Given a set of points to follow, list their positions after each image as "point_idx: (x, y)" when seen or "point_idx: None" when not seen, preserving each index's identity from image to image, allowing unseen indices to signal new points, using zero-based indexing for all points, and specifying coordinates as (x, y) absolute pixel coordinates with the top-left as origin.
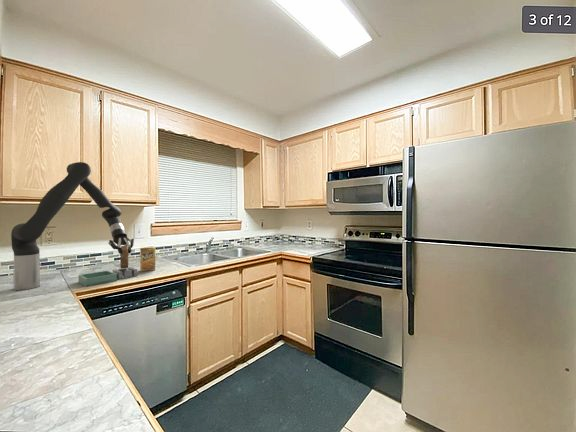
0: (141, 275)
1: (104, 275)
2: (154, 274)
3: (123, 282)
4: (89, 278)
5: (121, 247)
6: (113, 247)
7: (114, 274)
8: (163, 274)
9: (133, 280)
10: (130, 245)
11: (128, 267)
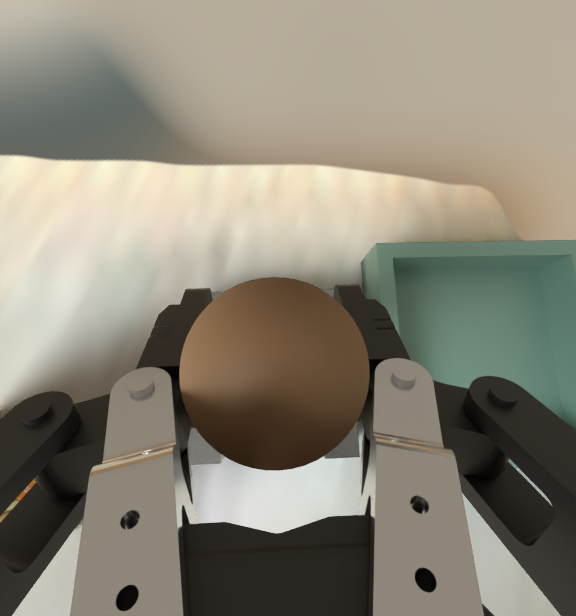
0: (173, 294)
1: None
2: (90, 246)
3: (340, 184)
4: (561, 240)
5: (356, 334)
6: (509, 479)
7: (392, 243)
8: (47, 190)
9: (275, 186)
10: (93, 430)
11: (208, 461)
